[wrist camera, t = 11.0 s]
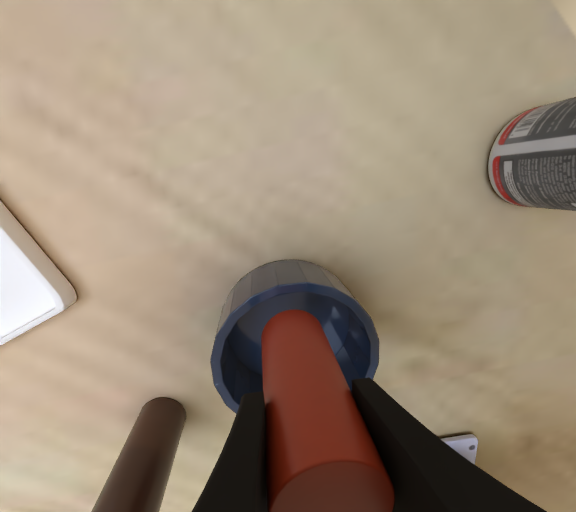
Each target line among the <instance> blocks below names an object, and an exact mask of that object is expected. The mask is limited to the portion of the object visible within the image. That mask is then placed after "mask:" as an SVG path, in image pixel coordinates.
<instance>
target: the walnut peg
mask: <svg viewBox="0 0 576 512" xmlns="http://www.w3.org/2000/svg"><path fill="white" fill-rule="evenodd" d="M185 419H186V413H185V410H184V408H183V407H182V405H181V404H180V403H178V402H177V401H175V400H172V399H169V398H158V399H154V400H151V401H150V402H148V403H147V404H146V405H145V406H144V407H143V408H142V410H141V412H140V414H139V416H138V418H137V420H136V422H135V424H134V426H133V428H132V430H131V432H130V434H129V436H128V438H127V440H126V442H125V445H124V447H123V449H122V451H121V453H120V455H119V457H118V459H117V461H116V463H115V465H114V467H113V469H112V471H111V473H110V475H109V477H108V479H107V481H106V483H105V485H104V487H103V489H102V491H101V493H100V496H99V498H98V500H97V502H96V504H95V506H94V508H93V510H92V512H159V510H160V507H161V503H162V500H163V496H164V493H165V489H166V486H167V482H168V479H169V475H170V472H171V468H172V465H173V461H174V458H175V454H176V451H177V447H178V444H179V440H180V437H181V433H182V430H183V427H184V423H185Z"/></svg>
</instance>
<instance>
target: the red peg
mask: <svg viewBox="0 0 576 512" xmlns="http://www.w3.org/2000/svg"><path fill="white" fill-rule="evenodd" d="M261 346H262V374H263V391H264V401H265V418H266V484H267V511H268V512H392V511H393V507H394V501H395V493H394V487H393V484H392V482H391V479H390V477H389V475H388V473H387V470H386V468H385V466H384V464H383V461H382V459H381V457H380V455H379V453H378V450H377V448H376V446H375V444H374V441H373V439H372V437H371V435H370V433H369V430H368V428H367V426H366V424H365V422H364V419H363V417H362V415H361V413H360V410H359V408H358V406H357V404H356V402H355V399H354V397H353V395H352V393H351V390H350V388H349V386H348V384H347V382H346V379H345V377H344V375H343V373H342V371H341V368H340V366H339V364H338V362H337V359H336V357H335V355H334V353H333V351H332V348H331V346H330V344H329V342H328V339H327V337H326V335H325V333H324V331H323V328H322V326H321V324H320V322H319V321H318V320H317V318H315V317H314V316H313V315H312V314H310V313H308V312H306V311H302V310H295V309H294V310H286V311H283V312H280V313H278V314H276V315H275V316H274V317H272V318H271V319H270V320H269V321H268V322H267V324H266V325H265V327H264V329H263V332H262V336H261Z"/></svg>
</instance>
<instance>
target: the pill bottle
mask: <svg viewBox="0 0 576 512" xmlns="http://www.w3.org/2000/svg"><path fill="white" fill-rule="evenodd" d="M488 172H489V178H490V181H491V184H492V186H493V188H494V190H495V191H496V193H497V194H498V195H499V196H500V197H501V198H502V199H504V200H505V201H507V202H509V203H511V204H514V205H519V206H525V207H537V208H548V209H561V210H572V211H576V97H574V98H570V99H566V100H562V101H559V102H555V103H551V104H548V105H544V106H540V107H536V108H533V109H531V110H528V111H525V112H523V113H521V114H520V115H518V116H516V117H515V118H514V119H512V120H511V121H510V122H509V123H508V124H507V125H506V126H505V127H504V128H503V129H502V131H501V132H500V133H499V135H498V136H497V138H496V140H495V142H494V144H493V147H492V149H491V152H490V157H489V163H488Z"/></svg>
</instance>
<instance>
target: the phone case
mask: <svg viewBox="0 0 576 512" xmlns="http://www.w3.org/2000/svg"><path fill="white" fill-rule="evenodd" d="M76 300H77V296H76V292H75V290H74V288H73V287H72V285H71V284H70V283H69V282H68V280H67V279H66V278H65V277H64V276H63V274H62V273H61V272H60V271H59V270H58V268H57V267H56V266H55V265H54V264H53V263H52V261H51V260H50V259H49V258H48V257H47V255H46V254H45V253H44V252H43V251H42V249H41V248H40V247H39V246H38V245H37V243H36V242H35V241H34V240H33V239H32V238H31V236H30V235H29V234H28V233H27V232H26V230H25V229H24V228H23V227H22V226H21V224H20V223H19V222H18V221H17V220H16V218H15V217H14V216H13V215H12V214H11V213H10V211H9V210H8V209H7V208H6V207H5V205H4V204H3V203H2V202H1V201H0V346H1V345H2V344H4V343H6V342H8V341H10V340H11V339H13V338H15V337H17V336H19V335H20V334H22V333H24V332H26V331H28V330H29V329H31V328H33V327H35V326H37V325H38V324H40V323H42V322H44V321H46V320H47V319H49V318H51V317H53V316H55V315H56V314H58V313H60V312H62V311H63V310H65V309H66V308H68V307H69V306H70V305H72V304H73V303H75V302H76Z"/></svg>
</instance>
